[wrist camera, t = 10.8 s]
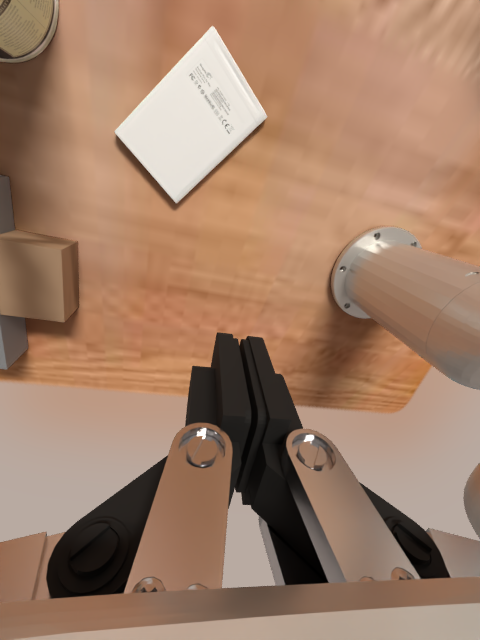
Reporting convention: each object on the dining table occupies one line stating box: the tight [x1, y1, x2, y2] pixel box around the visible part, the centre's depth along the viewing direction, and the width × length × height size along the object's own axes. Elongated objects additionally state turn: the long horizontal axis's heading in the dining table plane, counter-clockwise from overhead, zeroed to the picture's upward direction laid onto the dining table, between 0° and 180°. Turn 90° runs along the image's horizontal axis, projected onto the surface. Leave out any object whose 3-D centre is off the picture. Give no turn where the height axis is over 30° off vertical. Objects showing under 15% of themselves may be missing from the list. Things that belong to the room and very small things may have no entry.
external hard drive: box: [115, 26, 267, 204], centre depth 27 cm, size 2×8×12 cm
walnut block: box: [0, 230, 79, 322], centre depth 30 cm, size 6×8×4 cm
